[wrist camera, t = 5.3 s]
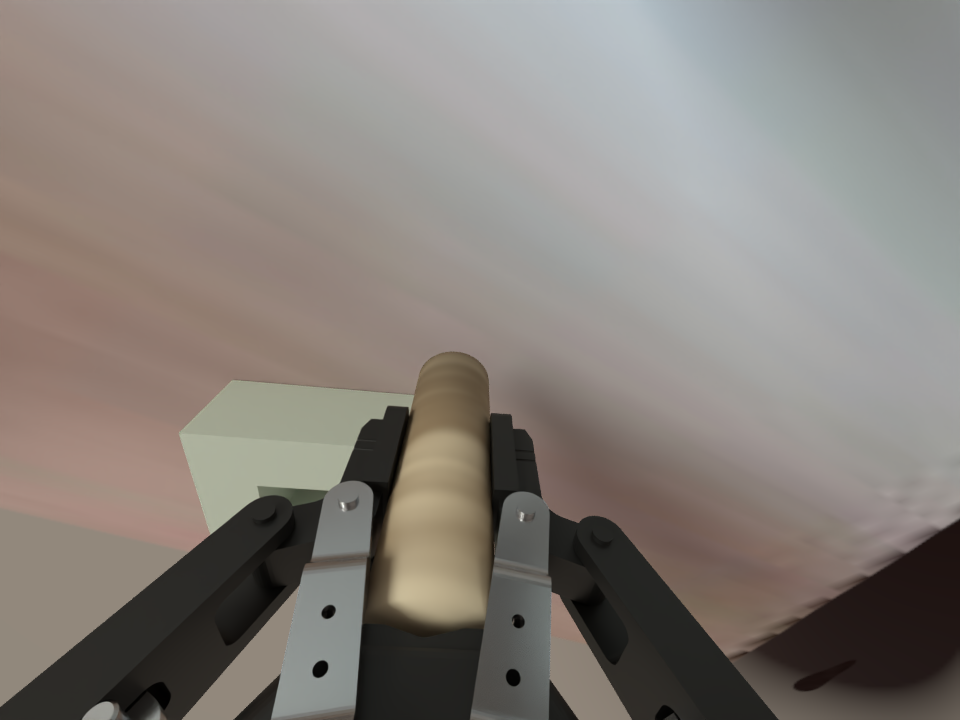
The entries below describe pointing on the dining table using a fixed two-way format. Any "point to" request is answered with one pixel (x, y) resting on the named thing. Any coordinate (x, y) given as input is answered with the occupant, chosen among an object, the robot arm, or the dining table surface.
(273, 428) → the hole block
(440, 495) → the peg
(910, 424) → the dining table surface
